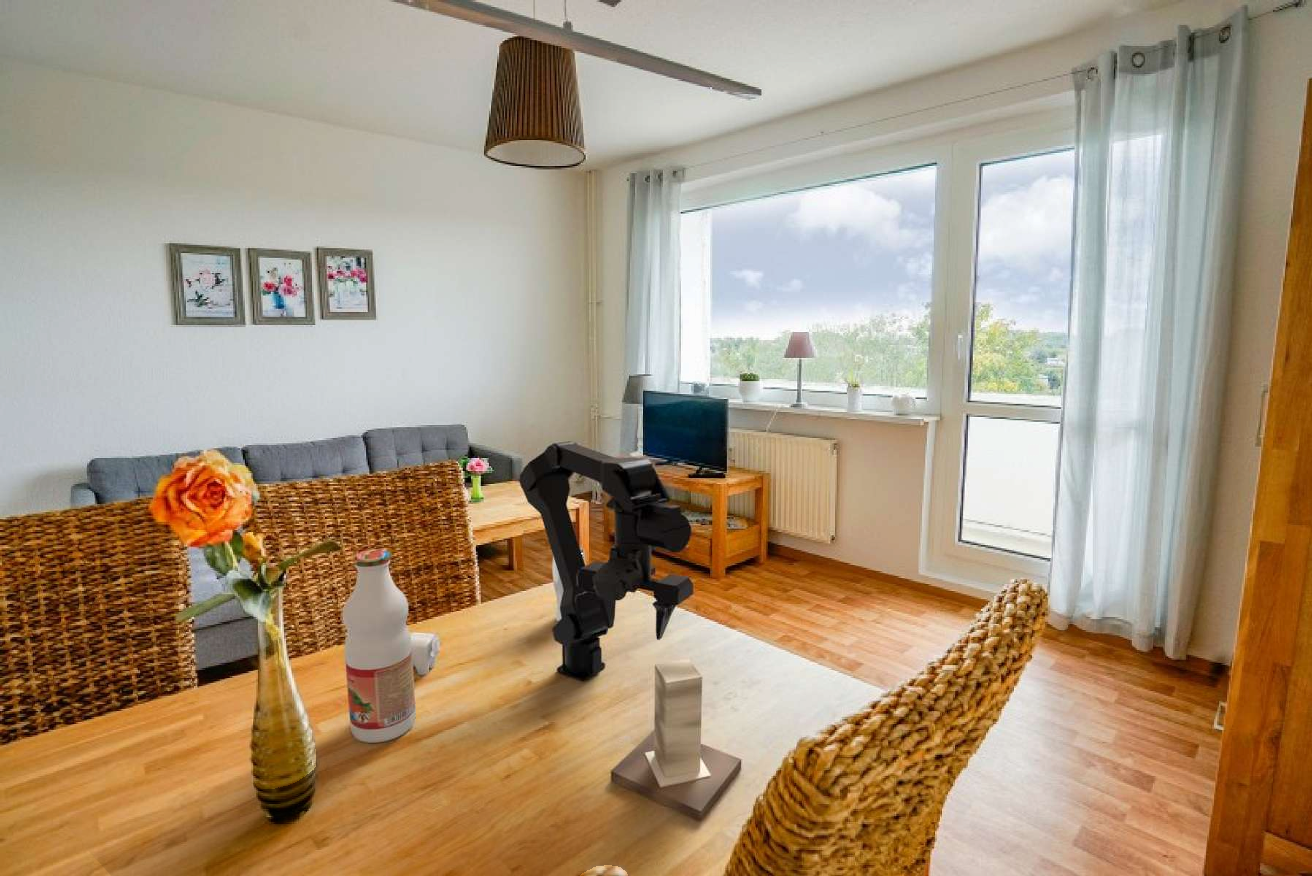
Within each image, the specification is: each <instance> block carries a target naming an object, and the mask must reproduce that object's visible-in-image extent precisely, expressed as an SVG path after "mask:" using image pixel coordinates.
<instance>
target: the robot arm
mask: <svg viewBox="0 0 1312 876" xmlns="http://www.w3.org/2000/svg"><path fill="white" fill-rule="evenodd" d="M574 474H578V475H580V476H583V477H585V478H588V479H591V480H593V481H595V482H598V483H599V484H600V486H601V487H600V488H601V490H602V491H603V492H604V493H606V494H608V495H609V496H610V497H612V498H611V499H609V500H608V501H607V502H606V503H605V507H606V508H608V509H611V510H613V512H614V514H613V517H614V545H613V546H611V547H610V550H609V552H608V553H609V556H608V557H609V558H608V560H607V562H605V561H604V562H603V561H598V560H595V561H592V562H590V563H589V564H586V566H585V562H584V559H583V556H582V553H581V550H580V544H579V541H578V537H577V534H576V531H575V527H574V524H573V521H572V518H571V514H570V511H569V508H568V505H567V503H568V500H569V496H570V491H571V486H570V485H571V484H570V479H571V478H572V476H573V475H574ZM519 484H520V485H519V486H520V488H521V489H522V491H523V493H524V495H525V499H526V501H527V502H528V504H529V505H530V506H532V507H533V508H534V509H535V510H536V511H537V512H538V513H539V514H540V517H541V520H542V523H543V526H544V530H545V533H546V536H547V540H548V543H549V546H550V549H551V553H552V557H553V556H554V560H555V563H556V566H557V569H558V573H559V576H560V579H561V583H562V586H563V590H564V591H563V595H562V600H561V604H560V612H561V617H562V619H561V620H560V621H559V622H557V623H556V624H555V625H554V626H553V627H552V630H551V632H552V636H553V640H554V641H555V642H557V643H558V644H560V645H561V654H562V655H561V657H562V660H561V661H562V664H561V665H559V666H558V667H556V672H557V673H560V674H561V675H562V674H563V675H566V676H568V677H570V678H573V679H576V680H579V681H582V682H585V681H587V680H589V679H590V678H592V677H593V676H594V675H595V674H597V673H598V672H600V671H601V670H602V669H604V668H605V667H606V663H605V662H604V661H602V657H603V656H602V652H603V651H602V647H601V643H600V641H601V639H600V638H601V636H606V635H608V632H609V629H612V628H613V627H614V624H615V617H616V604H617V603H616V602H617V601H622V600H623V599H624V598H625V597H626V596H627V593H633V594H634V593H635V594H636V592H637V591H638V589H639V590H644V591H649V592H653V597H654V599H655V601H654V602H653V603H652V606H653V607H654V609H655V611H656V612H655V636H656V640H658V641H660V640H661V639H662V638H663V636H664V634H665V631H666V628H667V626H668V624H669V622H670V619H671V616H672V615H673V613H674V610H675V609H676V607H677V606H679V605H680V604H681V603H683V602H684V601H686V600H687V599H688V598H690V597H691V596H693V595H694V583H693V581H692V580H691V578H690V577H689V576H683V575H678V574H671V573H669V574H668V575H666V576H665V577H663V578H661V579H658V578H652V577H653V576H654V575H656V566H652V551H653V550H655V549H657V548H658V549H660V550H664V551H667V552H670V553H680V552H681V551H683V550H684V549H686V548H687V546H688V544H689V541H690V540H691V535H692V525H690V521H689V519H688V518H687V517H686V515H684V514H683V513H681V512H682V511H681V508H682V507H681V506H680V505H677V504H669V503H670V502H671V499H670V497H669V494H667V492H668V491H667V490H666V488H665V487H664V485H663V483H662V481H661V479H660V477H659V475H658V473H657V471H656V469H655V468H654V466H653V463H652V461H650V460H649V459H647V458H643V457H642V458H641V457H613V456H611V455H608V454H605V453H602V452H600V451H596V450H594V449H591V448H588V447H585V446H582V445H579V444H578V443H577V442H575V441H570V440H569V441H562V442H555V443H552V444H549V446H547V447H546V449H545V450H544V451H543V452H542V453H541V454H539V455H537V456H536V457H534V458H533V459H532V460H531V461H529V462H528V463H527V465H525V466H524V467H523V469H522V472H520V475H519ZM644 495H645V496H644ZM639 496H641V497H639ZM636 497H637V498H636Z"/></svg>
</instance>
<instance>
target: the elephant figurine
mask: <svg viewBox="0 0 1312 876" xmlns="http://www.w3.org/2000/svg"><path fill="white" fill-rule="evenodd" d="M410 636H411V643H412V660H413V672H414V667H415V669H416V671H417V674H418V675H419V676H425V675H428V674H429V671H430V670H429V669H433V668H434V667H435V665H436V662H437V656H438V654H439V653H440V651H441V650H440V646H443V643H442V642H440V639H439V637H440V636H439V632H435V633H423V632H410Z"/></svg>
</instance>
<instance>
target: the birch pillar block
mask: <svg viewBox="0 0 1312 876" xmlns="http://www.w3.org/2000/svg"><path fill="white" fill-rule="evenodd" d="M702 693H703V676H702V675H701V673H700V672H699V670H698V669H697V668H696V667H695V665H694V664H693V662H692V661H691V660H690V658H685V659H680V660H679V659H678V660H672V661H666V662H661V663H660V662H659V663H655V664H654V725H653V726H654V729H653V730H654V756H655V758H656V760H657V762H658V764H659V766H660V768H661V770H662V772H663V774H664V776H665V778H671V777H676V776H680V775H685V774H689V773H694V772H699V771H700V757H701V744H702V708H703V707H702V705H703V699H702V698H703V694H702Z"/></svg>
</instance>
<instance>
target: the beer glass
mask: <svg viewBox="0 0 1312 876" xmlns="http://www.w3.org/2000/svg"><path fill="white" fill-rule="evenodd" d="M580 550H581V553H582V556H583V559H584V562H585V566H586V565H587V562H586V553H585V552H586V550H585V549H584V548H583V547H580ZM551 570H552V581H553V586H554V591H555V595H556V596H555V597H556V603H557V605H556V606H557V607H556V612H555V621H556V622H557V623H558V622H559V621H560V620H561V619H562V617H561V612H560V604H561V600H562V595H563V591H564V590H563V586H562V583H561V579H560V576H559V573H558V569H557V566H556V563H555V560H554V556H553V555H552V569H551Z"/></svg>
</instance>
